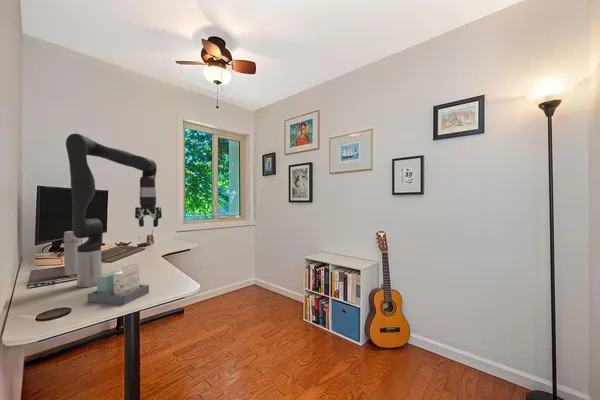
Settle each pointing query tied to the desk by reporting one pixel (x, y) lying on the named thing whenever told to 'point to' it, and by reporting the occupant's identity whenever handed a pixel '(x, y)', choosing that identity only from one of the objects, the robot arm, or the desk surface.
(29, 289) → the desk surface
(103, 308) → the desk surface
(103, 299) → the cartridge holder
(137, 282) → the ink cartridge box
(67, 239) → the water bottle
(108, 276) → the teal block
